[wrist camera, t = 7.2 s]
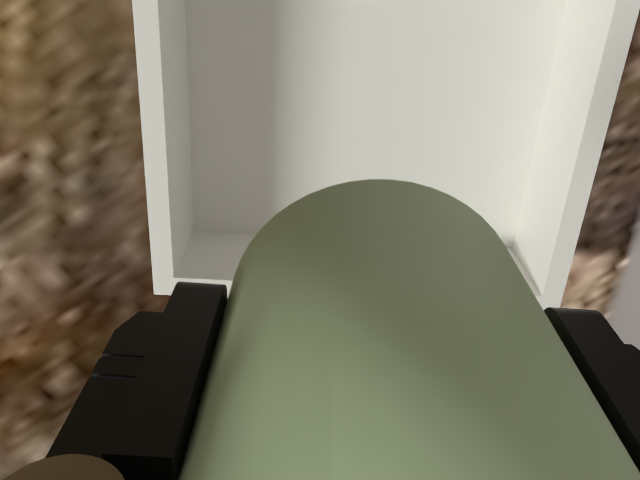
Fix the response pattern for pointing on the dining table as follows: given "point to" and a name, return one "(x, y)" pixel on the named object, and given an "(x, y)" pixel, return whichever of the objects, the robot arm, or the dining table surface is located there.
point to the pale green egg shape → (392, 354)
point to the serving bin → (373, 116)
